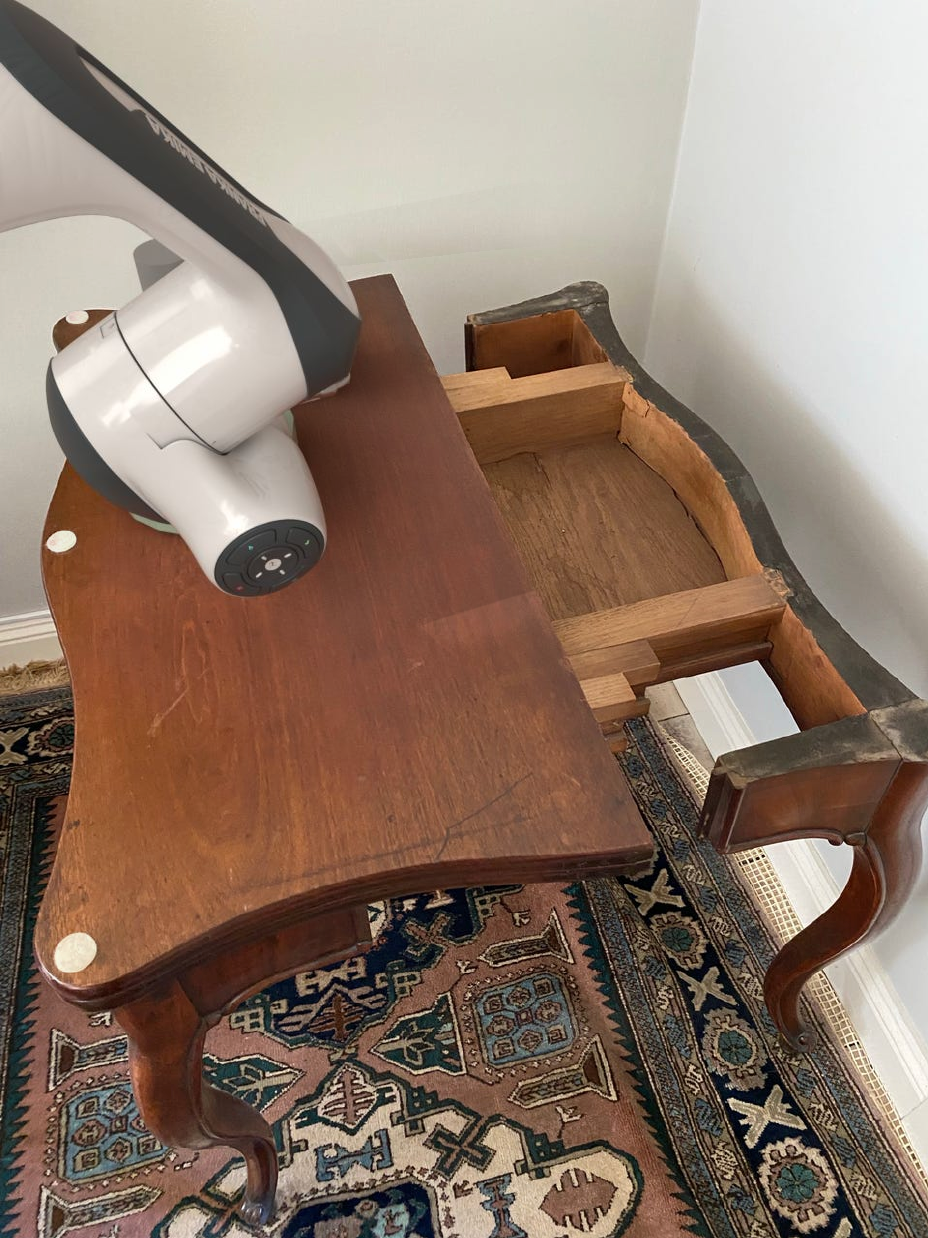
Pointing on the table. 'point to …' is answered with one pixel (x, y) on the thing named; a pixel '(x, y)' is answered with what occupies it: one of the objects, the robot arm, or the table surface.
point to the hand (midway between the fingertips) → (181, 324)
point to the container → (154, 262)
